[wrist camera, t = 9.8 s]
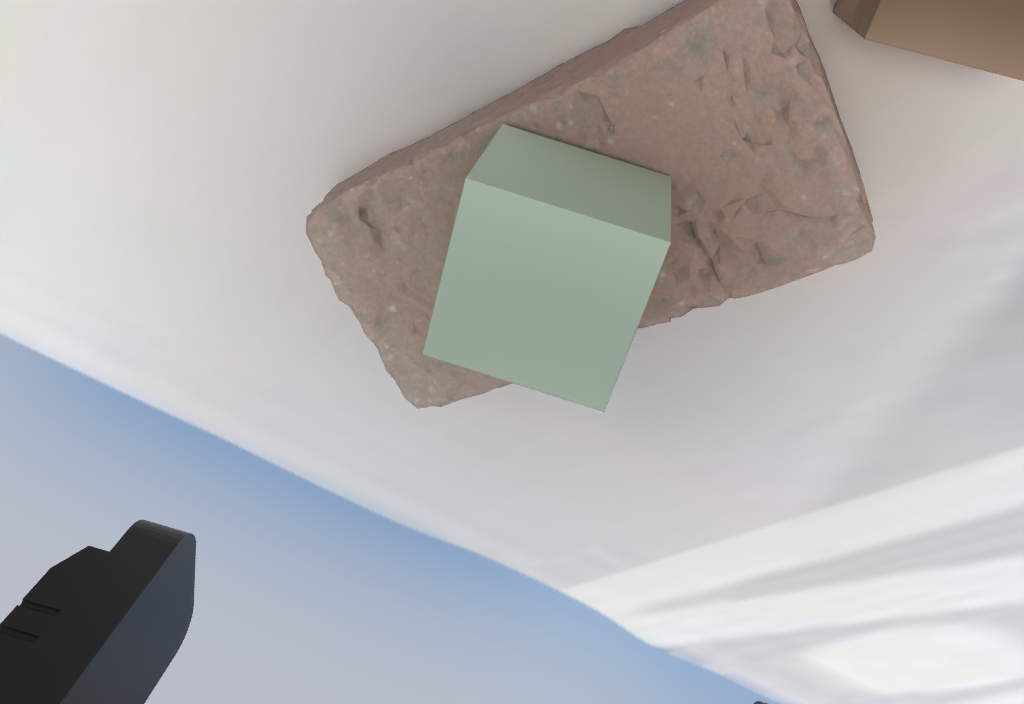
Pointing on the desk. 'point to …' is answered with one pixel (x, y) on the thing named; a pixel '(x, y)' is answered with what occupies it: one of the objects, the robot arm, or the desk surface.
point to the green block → (550, 266)
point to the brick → (635, 140)
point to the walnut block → (945, 29)
